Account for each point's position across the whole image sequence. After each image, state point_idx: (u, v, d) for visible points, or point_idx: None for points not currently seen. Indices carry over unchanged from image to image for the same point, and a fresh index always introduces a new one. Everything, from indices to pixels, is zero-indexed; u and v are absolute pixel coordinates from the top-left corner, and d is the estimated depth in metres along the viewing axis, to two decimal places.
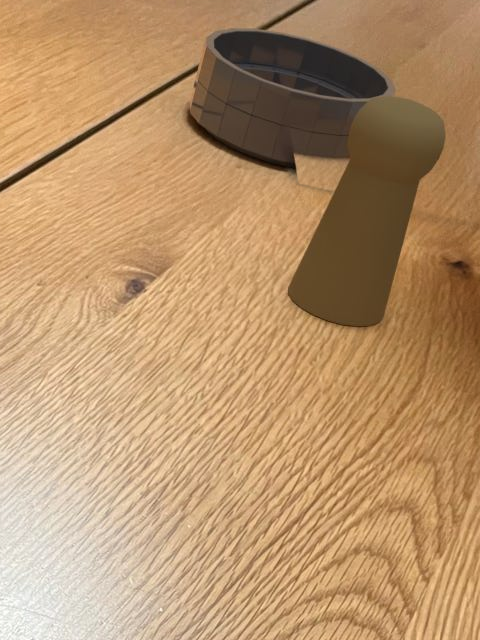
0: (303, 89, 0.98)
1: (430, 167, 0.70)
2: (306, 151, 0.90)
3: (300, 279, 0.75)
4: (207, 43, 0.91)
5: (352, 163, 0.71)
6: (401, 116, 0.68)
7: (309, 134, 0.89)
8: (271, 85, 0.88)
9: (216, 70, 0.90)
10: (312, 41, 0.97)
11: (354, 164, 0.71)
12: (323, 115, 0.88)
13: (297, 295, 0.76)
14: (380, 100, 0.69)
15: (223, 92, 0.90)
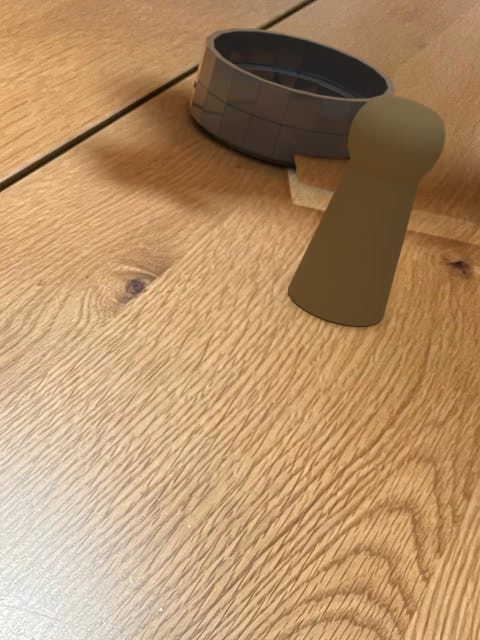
0: (303, 89, 0.98)
1: (430, 167, 0.70)
2: (306, 151, 0.90)
3: (300, 279, 0.75)
4: (207, 43, 0.91)
5: (352, 163, 0.71)
6: (401, 116, 0.68)
7: (309, 134, 0.89)
8: (271, 85, 0.88)
9: (216, 70, 0.90)
10: (312, 41, 0.97)
11: (354, 164, 0.71)
12: (323, 115, 0.88)
13: (297, 295, 0.76)
14: (380, 100, 0.69)
15: (223, 92, 0.90)
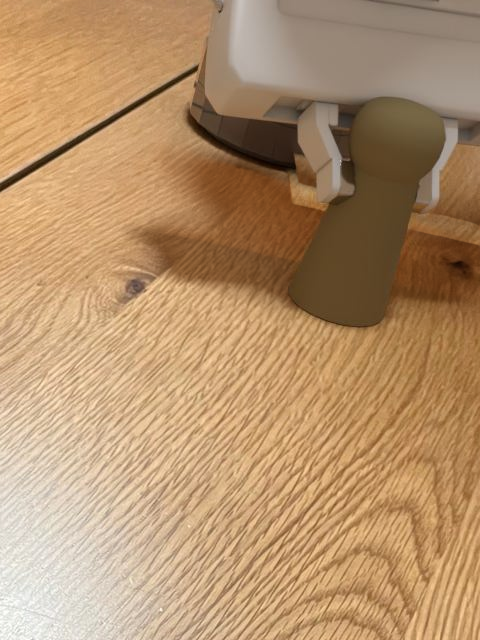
0: None
1: (430, 167, 0.70)
2: None
3: (300, 279, 0.75)
4: (207, 43, 0.91)
5: None
6: (401, 116, 0.68)
7: None
8: None
9: None
10: None
11: (354, 164, 0.71)
12: None
13: (297, 295, 0.76)
14: (380, 100, 0.69)
15: None
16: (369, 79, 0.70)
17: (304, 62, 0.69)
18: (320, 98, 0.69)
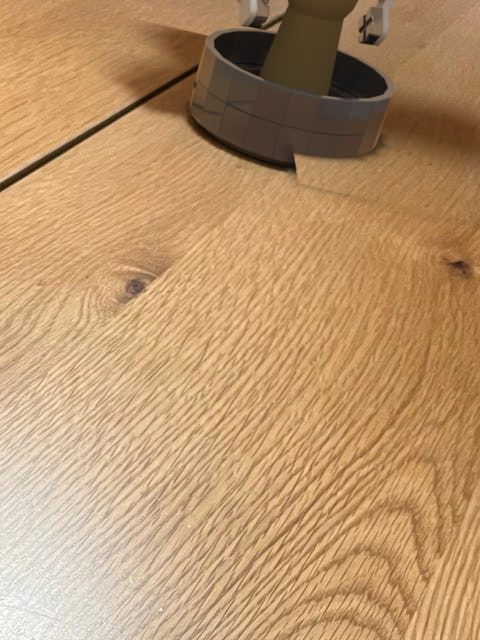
0: None
1: (350, 7, 0.88)
2: (306, 151, 0.90)
3: None
4: (207, 43, 0.91)
5: (289, 6, 0.89)
6: None
7: (309, 134, 0.89)
8: (271, 85, 0.88)
9: (216, 70, 0.90)
10: None
11: (291, 7, 0.89)
12: (323, 115, 0.88)
13: None
14: None
15: (223, 92, 0.90)
16: None
17: None
18: None
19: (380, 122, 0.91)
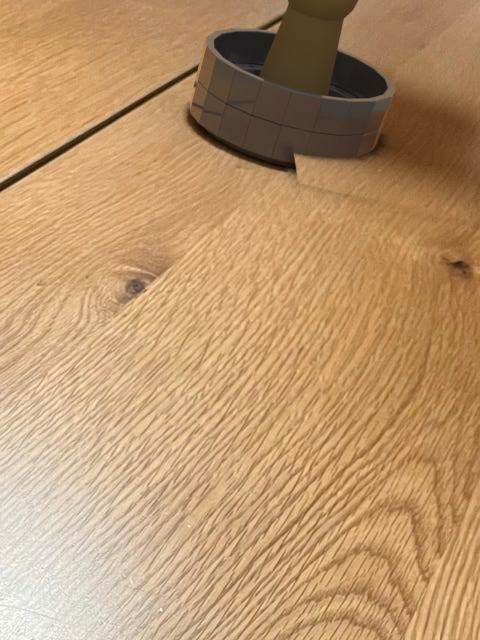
0: None
1: (350, 7, 0.88)
2: (306, 151, 0.90)
3: None
4: (207, 43, 0.91)
5: (289, 6, 0.89)
6: None
7: (309, 134, 0.89)
8: (271, 85, 0.88)
9: (216, 70, 0.90)
10: None
11: (291, 7, 0.89)
12: (323, 115, 0.88)
13: None
14: None
15: (223, 92, 0.90)
16: None
17: None
18: None
19: (380, 122, 0.91)
